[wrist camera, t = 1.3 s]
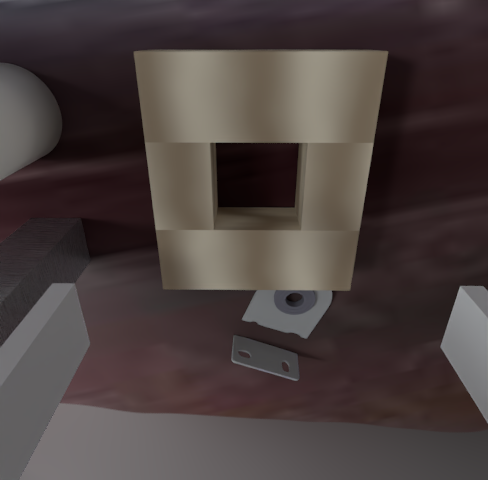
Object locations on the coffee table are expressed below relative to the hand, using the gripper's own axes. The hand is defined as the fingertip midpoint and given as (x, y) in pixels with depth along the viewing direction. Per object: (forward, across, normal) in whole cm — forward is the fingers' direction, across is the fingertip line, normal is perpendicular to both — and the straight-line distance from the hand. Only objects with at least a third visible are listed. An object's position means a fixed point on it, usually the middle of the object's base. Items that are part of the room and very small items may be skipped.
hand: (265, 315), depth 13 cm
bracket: (+17, +2, -14) cm, 22 cm away
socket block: (+17, 0, 0) cm, 17 cm away
